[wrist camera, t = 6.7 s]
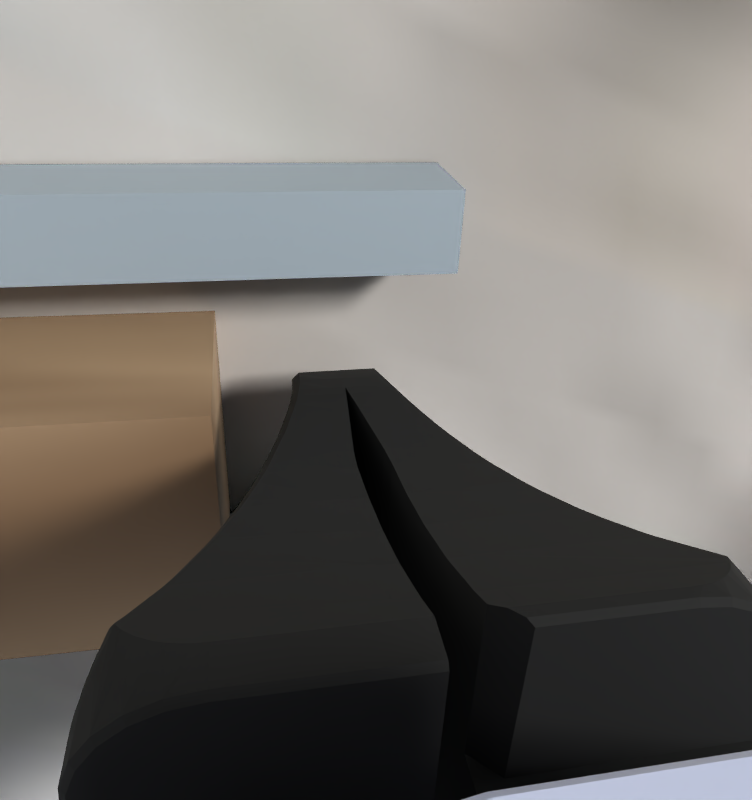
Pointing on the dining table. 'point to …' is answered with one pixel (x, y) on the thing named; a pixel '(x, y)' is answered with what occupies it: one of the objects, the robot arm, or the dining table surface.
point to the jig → (225, 222)
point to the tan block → (103, 469)
